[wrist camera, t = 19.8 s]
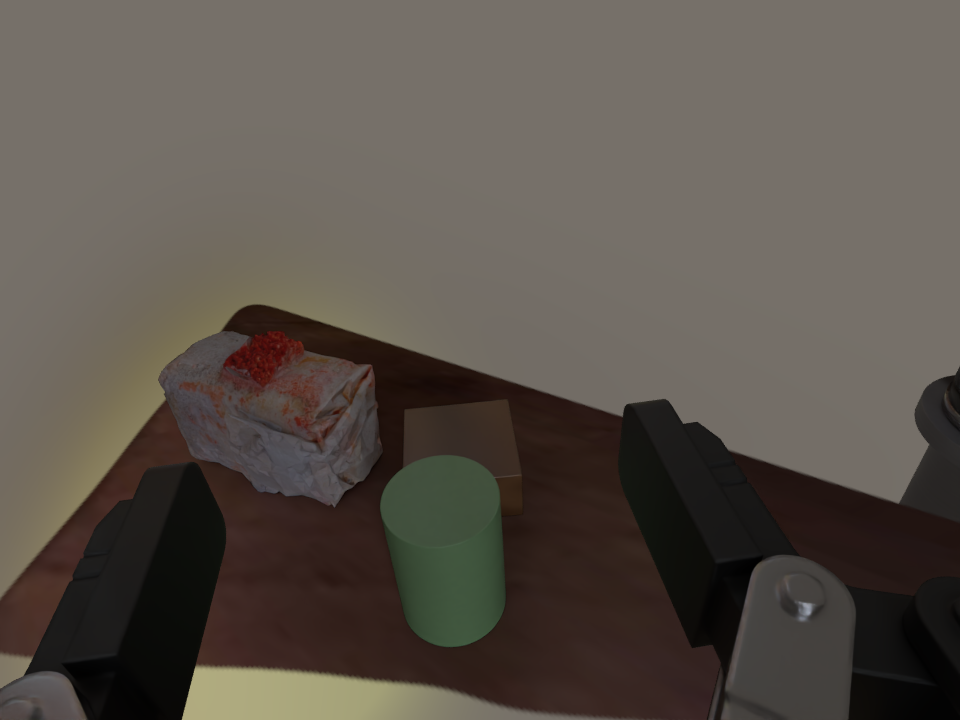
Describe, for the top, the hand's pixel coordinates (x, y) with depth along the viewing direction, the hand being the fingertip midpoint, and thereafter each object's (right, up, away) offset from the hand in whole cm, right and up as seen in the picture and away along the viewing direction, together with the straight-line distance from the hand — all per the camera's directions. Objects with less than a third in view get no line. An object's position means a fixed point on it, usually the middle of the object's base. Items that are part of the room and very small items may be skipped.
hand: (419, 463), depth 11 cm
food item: (-12, -5, +30) cm, 33 cm away
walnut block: (0, -6, +28) cm, 29 cm away
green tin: (0, -11, +21) cm, 24 cm away
